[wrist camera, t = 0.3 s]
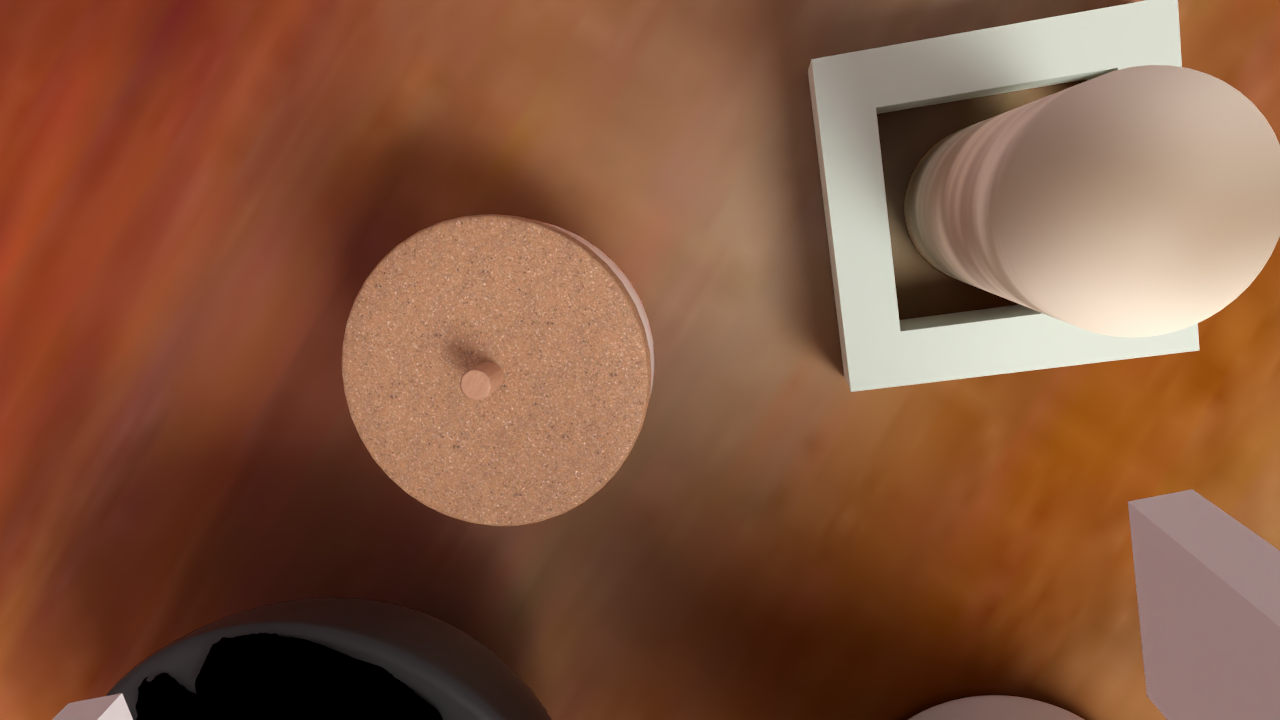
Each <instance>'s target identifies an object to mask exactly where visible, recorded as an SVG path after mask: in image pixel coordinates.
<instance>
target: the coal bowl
mask: <svg viewBox="0 0 1280 720" xmlns="http://www.w3.org/2000/svg"><path fill="white" fill-rule="evenodd" d="M120 693H122V694H123V697H124V699H125V701H126V704H127V706H128V709H129V711H130V713H131V716H132V718H133V720H551V718H550V716H549V715H548V713H547V711H546V710H545V708H544V707H543V705H542V704H541V703H540V701H539V700H538V699H537V697H536V696H535V695H534V693H533V692H532V691H531V689H530V688H529V687H528V686H527V685H526V684H525V683H524V681H523V680H522V679H521V678H520V677H519V676H518V675H517V674H516V673H515V672H514V671H513V670H512V669H511V668H510V667H509V666H508V665H507V664H506V663H505V662H504V661H503V660H502V659H501V658H500V657H499V656H497V655H496V654H495V653H493V652H492V651H491V650H490V649H488V648H487V647H486V646H485V645H483V644H482V643H480V642H479V641H477V640H476V639H474V638H473V637H471V636H470V635H468V634H467V633H465V632H463V631H461V630H460V629H458V628H456V627H454V626H452V625H450V624H448V623H446V622H444V621H442V620H439V619H437V618H435V617H432V616H430V615H428V614H425V613H423V612H419V611H416V610H413V609H410V608H407V607H404V606H400V605H396V604H391V603H387V602H382V601H375V600H367V599H358V598H331V597H325V598H310V599H300V600H293V601H287V602H281V603H275V604H270V605H265V606H262V607H258V608H255V609H251V610H248V611H244V612H241V613H237V614H234V615H230V616H228V617H225V618H223V619H220V620H218V621H215V622H213V623H211V624H208V625H206V626H203V627H201V628H199V629H196V630H194V631H192V632H191V633H189V634H187V635H185V636H183V637H181V638H179V639H178V640H176V641H174V642H172V643H170V644H168V645H167V646H165V647H163V648H161V649H160V650H158V651H156V652H155V653H154V654H152V655H151V656H149V657H148V658H146V659H145V660H143V661H142V662H141V663H139V664H138V665H136V666H135V667H134V668H133V669H132V670H131V671H130V672H128V673H127V674H126V675H125V676H124V677H123V678H122V679H120V680H119V681H118V682H117V683H116V685H115V686H114V687H113V688H112V689H111V690H110V691H109V692H108V694H107V695H106V696H110V695H115V694H120Z"/></svg>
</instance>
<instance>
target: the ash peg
mask: <svg viewBox="0 0 1280 720" xmlns="http://www.w3.org/2000/svg"><path fill="white" fill-rule="evenodd" d="M904 212H905V221H906V227H907V230H908V233H909V236H910V238H911V240H912V242H913V244H914V246H915V247H916V249H917V250H918V252H919V253H920V255H921V256H922V257H923V258H924V259H925V260H926V261H927V262H928V263H929V264H930V265H931V266H933V267H934V268H935V269H937V270H938V271H940V272H941V273H943V274H945V275H948V276H950V277H952V278H954V279H957V280H959V281H962V282H965V283H967V284H970V285H972V286H975V287H977V288H980V289H982V290H985V291H987V292H990V293H992V294H995V295H998V296H1000V297H1003V298H1005V299H1008V300H1010V301H1013V302H1015V303H1018V304H1020V305H1023V306H1026V307H1028V308H1031V309H1033V310H1036V311H1038V312H1041V313H1043V314H1046V315H1048V316H1051V317H1053V318H1056V319H1059V320H1061V321H1064V322H1066V323H1069V324H1071V325H1074V326H1076V327H1079V328H1082V329H1085V330H1088V331H1091V332H1094V333H1098V334H1103V335H1108V336H1114V337H1129V338H1136V337H1151V336H1157V335H1162V334H1167V333H1171V332H1175V331H1178V330H1181V329H1184V328H1187V327H1190V326H1192V325H1194V324H1196V323H1199V322H1201V321H1203V320H1205V319H1207V318H1208V317H1210V316H1212V315H1214V314H1215V313H1217V312H1219V311H1220V310H1222V309H1223V308H1224V307H1226V306H1227V305H1228V304H1230V303H1231V302H1232V301H1233V300H1235V299H1236V298H1237V297H1238V296H1239V295H1240V294H1241V293H1242V292H1243V291H1244V290H1245V289H1246V288H1247V287H1248V286H1249V285H1250V284H1251V283H1252V282H1253V280H1254V279H1255V278H1256V277H1257V275H1258V274H1259V273H1260V272H1261V270H1262V269H1263V267H1264V266H1265V264H1266V262H1267V261H1268V259H1269V258H1270V256H1271V254H1272V252H1273V250H1274V248H1275V245H1276V243H1277V241H1278V239H1279V236H1280V145H1279V142H1278V140H1277V138H1276V135H1275V133H1274V131H1273V130H1272V128H1271V126H1270V125H1269V123H1268V122H1267V120H1266V118H1265V117H1264V116H1263V115H1262V113H1261V112H1260V111H1259V110H1258V109H1257V108H1256V106H1255V105H1254V104H1253V103H1252V102H1251V101H1250V100H1249V99H1247V98H1246V97H1245V96H1244V95H1243V94H1242V93H1240V92H1239V91H1238V90H1236V89H1235V88H1233V87H1232V86H1230V85H1229V84H1227V83H1225V82H1224V81H1222V80H1220V79H1217V78H1215V77H1213V76H1211V75H1209V74H1206V73H1203V72H1199V71H1196V70H1193V69H1189V68H1183V67H1177V66H1171V65H1145V66H1136V67H1129V68H1125V69H1120V70H1116V71H1112V72H1109V73H1107V74H1104V75H1101V76H1098V77H1096V78H1093V79H1090V80H1088V81H1085V82H1083V83H1080V84H1077V85H1075V86H1072V87H1070V88H1067V89H1064V90H1062V91H1059V92H1057V93H1054V94H1051V95H1049V96H1046V97H1044V98H1041V99H1038V100H1036V101H1033V102H1031V103H1028V104H1025V105H1023V106H1020V107H1018V108H1015V109H1012V110H1010V111H1007V112H1005V113H1002V114H999V115H997V116H994V117H992V118H989V119H986V120H984V121H981V122H979V123H976V124H973V125H971V126H968V127H966V128H963V129H960V130H958V131H956V132H954V133H952V134H950V135H948V136H946V137H945V138H943V139H942V140H940V141H939V142H937V143H936V144H935V145H934V146H933V147H932V148H930V149H929V150H928V151H927V153H926V154H925V155H924V156H923V157H922V158H921V160H920V161H919V163H918V164H917V166H916V167H915V169H914V171H913V173H912V175H911V178H910V180H909V183H908V186H907V190H906V194H905V203H904Z"/></svg>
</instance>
